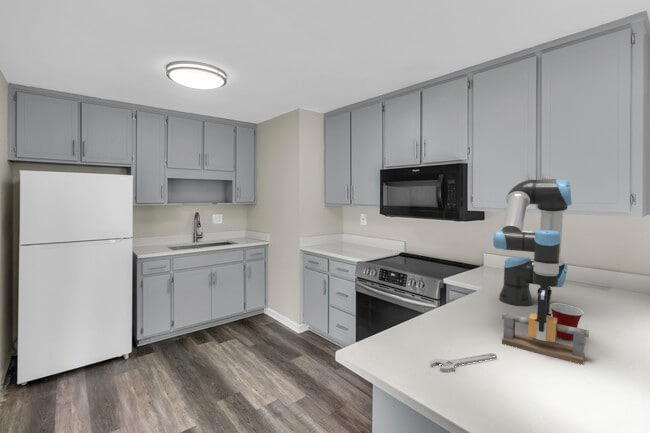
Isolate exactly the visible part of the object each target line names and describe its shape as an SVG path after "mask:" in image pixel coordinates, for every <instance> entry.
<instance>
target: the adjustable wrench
mask: <svg viewBox="0 0 650 433" xmlns="http://www.w3.org/2000/svg"><path fill="white" fill-rule="evenodd" d="M493 356H495V357H493ZM496 358H497V359H498V355H497V354H496V353H492V352H490V353H483V354H478V355H472V356H468V357H462V358H456V359H442V358H435V359H434V358H433V359H432V360H431V361H430V368H434V367H436V366H437V365H439V364H442V365H443V366H442V365H441V366H439V372H440V371H442V372H441V373H449V372H448V371H452V372H453V371H454V370H455V371H456V368H457V367H459V366H458V365H462V364H468V363H473V362H479V361H485V360H490V359H496ZM497 359H496V360H497ZM485 362H486V361H485ZM479 363H480V362H479ZM435 365H436V366H435ZM468 365H469V364H468ZM433 366H434V367H433ZM455 366H457V367H455ZM462 366H463V365H462ZM455 371H454V372H455Z"/></svg>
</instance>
